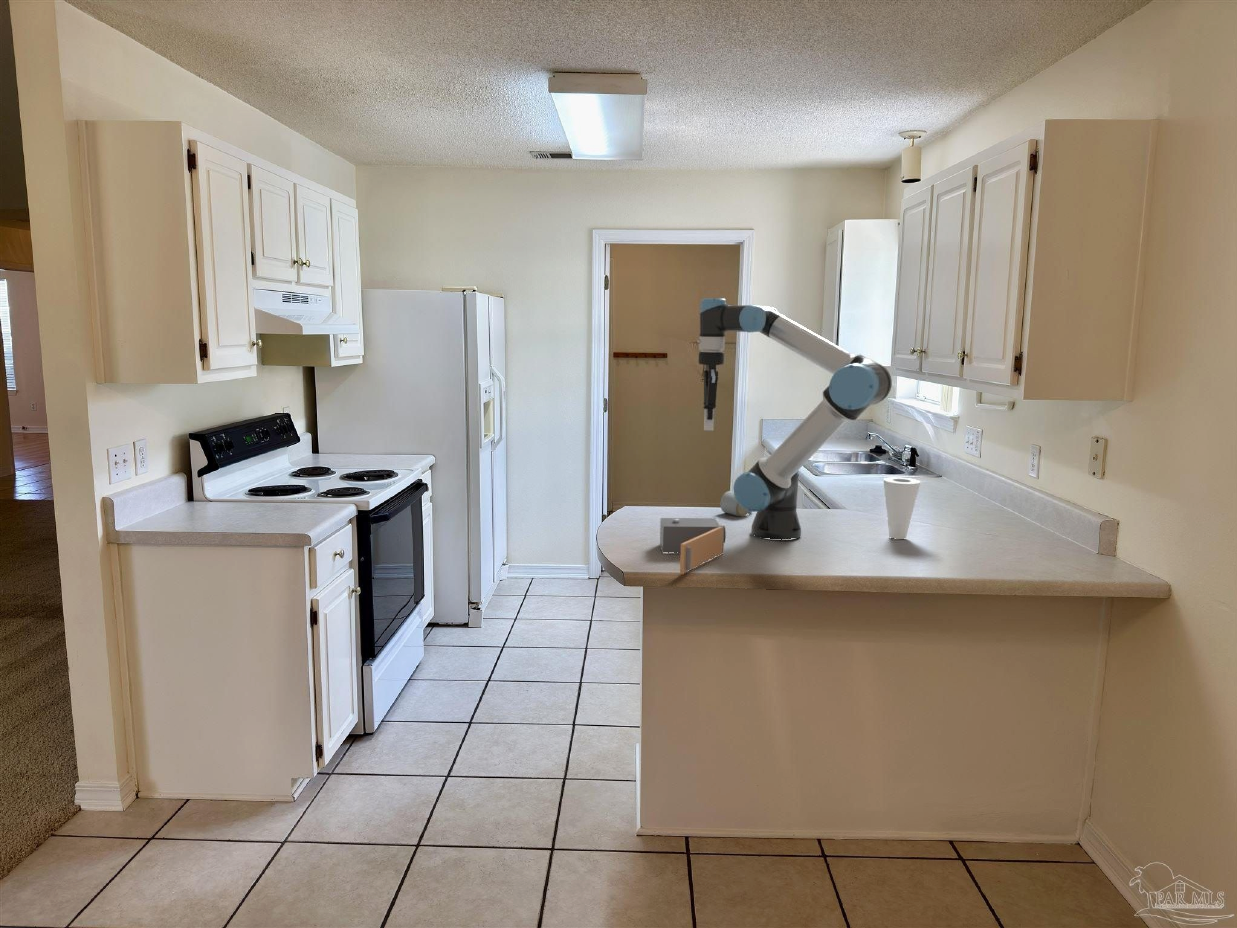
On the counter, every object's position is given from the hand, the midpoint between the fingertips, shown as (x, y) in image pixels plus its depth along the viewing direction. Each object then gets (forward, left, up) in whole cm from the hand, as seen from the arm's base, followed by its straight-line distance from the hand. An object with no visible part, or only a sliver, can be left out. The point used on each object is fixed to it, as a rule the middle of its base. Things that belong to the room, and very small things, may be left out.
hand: (708, 430), depth 252 cm
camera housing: (+7, +17, -32) cm, 37 cm away
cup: (-59, +3, -33) cm, 67 cm away
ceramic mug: (-15, -27, -33) cm, 45 cm away
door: (+5, +32, -32) cm, 46 cm away
